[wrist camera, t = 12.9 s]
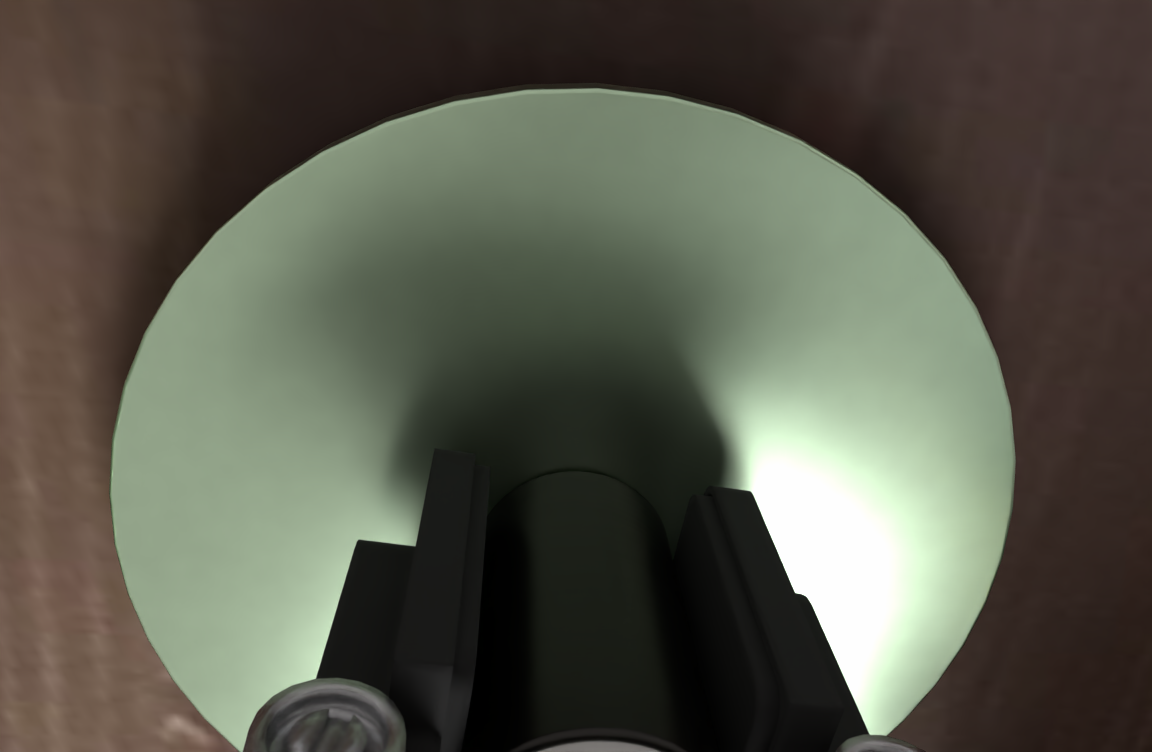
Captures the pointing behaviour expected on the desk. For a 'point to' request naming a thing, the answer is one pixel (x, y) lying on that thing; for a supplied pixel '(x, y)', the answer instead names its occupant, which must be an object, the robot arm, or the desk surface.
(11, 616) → the desk surface
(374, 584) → the robot arm
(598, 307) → the pot lid
